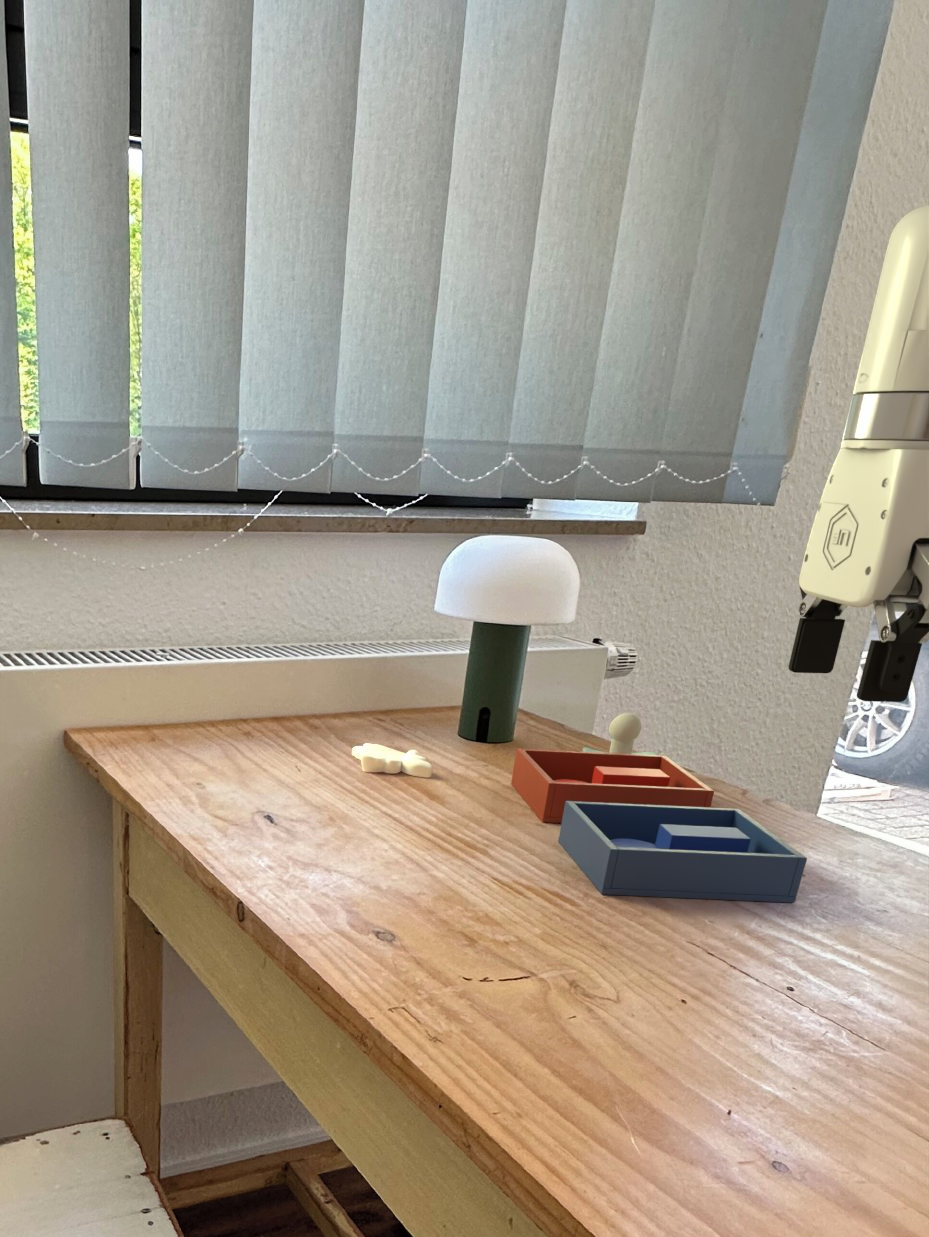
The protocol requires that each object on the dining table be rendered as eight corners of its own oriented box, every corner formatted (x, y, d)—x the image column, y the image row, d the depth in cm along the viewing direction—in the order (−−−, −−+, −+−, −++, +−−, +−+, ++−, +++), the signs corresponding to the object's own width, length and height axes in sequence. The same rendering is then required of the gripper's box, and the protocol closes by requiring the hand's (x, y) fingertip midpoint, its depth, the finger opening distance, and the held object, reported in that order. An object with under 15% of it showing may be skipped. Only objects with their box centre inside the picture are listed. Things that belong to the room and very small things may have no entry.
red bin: (657, 790, 102) (665, 755, 101) (705, 829, 92) (714, 790, 91) (510, 784, 102) (516, 748, 100) (542, 822, 92) (549, 783, 90)
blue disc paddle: (722, 857, 84) (731, 823, 83) (747, 878, 80) (756, 843, 79) (595, 851, 84) (601, 817, 83) (613, 872, 80) (620, 836, 79)
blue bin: (728, 849, 88) (739, 808, 86) (794, 903, 78) (807, 858, 76) (557, 841, 87) (565, 800, 86) (601, 894, 77) (610, 849, 76)
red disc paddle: (649, 795, 99) (656, 766, 98) (667, 810, 95) (674, 780, 94) (540, 790, 99) (545, 761, 98) (554, 805, 95) (559, 774, 94)
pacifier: (571, 761, 111) (583, 776, 106) (582, 701, 109) (594, 713, 103) (643, 767, 111) (659, 781, 105) (655, 706, 108) (672, 718, 103)
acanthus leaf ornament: (431, 779, 102) (434, 760, 102) (360, 776, 102) (362, 757, 101) (418, 757, 109) (420, 739, 108) (351, 754, 109) (352, 736, 108)
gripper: (790, 426, 78) (739, 662, 85) (931, 423, 63) (855, 712, 70) (891, 428, 79) (832, 664, 86) (1057, 426, 63) (969, 714, 70)
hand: (843, 685), depth 78 cm, fingers open, 9 cm apart
